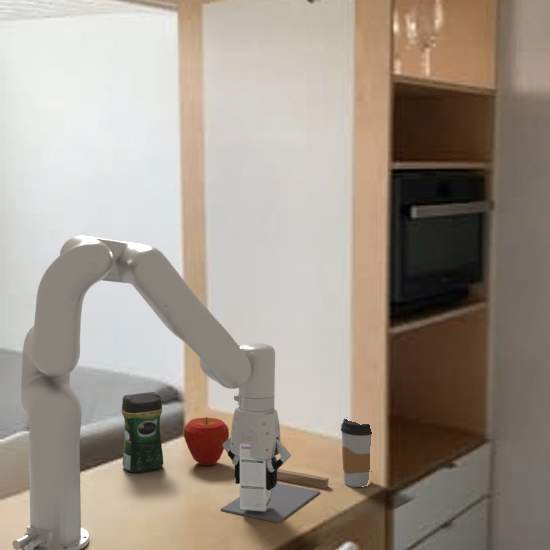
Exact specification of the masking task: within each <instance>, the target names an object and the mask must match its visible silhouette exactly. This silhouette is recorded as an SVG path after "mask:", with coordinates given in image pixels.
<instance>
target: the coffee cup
mask: <svg viewBox="0 0 550 550" xmlns="http://www.w3.org/2000/svg"><path fill="white" fill-rule="evenodd" d="M340 425H341V428H340V432H341V442H342V443H341V445H342V447H341V453H342V470H343V482H344V484H345V486H347V487H349V488H350V487H351V488H355V487H362V486H365V485H367V483H368V480H369V472H370V471H369V470H370V446H371V436H372V435H371V434H372V432H371V429H370V425H369V424H362V425H360V424H358V423H356V422H352V421H348V420H347V419H345V418H343V421H342V423H341V424H340Z"/></svg>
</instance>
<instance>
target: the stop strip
mask: <svg viewBox="0 0 550 550" xmlns="http://www.w3.org/2000/svg"><path fill="white" fill-rule="evenodd" d="M329 479H330V478H329V477H323V476H318V475H314V474H308V473H302V472H297V471H292V470H286V469H281V468H278V469H277V481H278V480H279V481H283V482H289V483H294V484H298V485H299V484H300V485H303V484H304V485H303V486H309V487H315V488H319V489H327V488H328V487H329Z"/></svg>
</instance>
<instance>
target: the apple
mask: <svg viewBox="0 0 550 550" xmlns="http://www.w3.org/2000/svg"><path fill="white" fill-rule="evenodd" d="M183 438H184V440H185V441H184V442H185V444H186V445H187V449H188V450H189V452H190V454H191V457H192V458H193V460H194V461H195V462H197V463H198V464H199V465H201V466H213V465H215V464H216V463H218V461H219V460H220V459H221V457H222V454H223V452H224V450H225V449H224V447H223V443H224V442H225V441H227V440H228V439H229V438H230V431H229V426H228V425H227V424H226V423H225V422H224V421H223V419H222V420H221V419H219V418H214V417H208V416H205V417H197V418H196V417H195V418H193V419H190V420H189V421H188V422H187V423H186V424H185V425H184V426H183Z"/></svg>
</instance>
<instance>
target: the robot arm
mask: <svg viewBox="0 0 550 550" xmlns="http://www.w3.org/2000/svg"><path fill="white" fill-rule="evenodd" d="M101 281H103V282H112V283H124V284H130V285H132V286H133V288H134V289H135V290H136V291H137V293H138V294H139V295H140V297H142V299H143V300H144V301H145V302H146V303H147V305H148V306H149V307H150V308H151V310H152V311H153V312H154V313H155V314H156V316H157V317H158V318H159V320H160V321H161V323H162V324H163V325H164V326H165V327H166V328H167V329H168V330H169V331H170V332H171V333H172V334H173V335H174V336H175V337H177V338H178V339H180V340H181V341H182V342H184V344H186V345H187V346H188V347H189V348H191V350H192V351H193V352H194V353H195V354H196V355H197V356H198V357H199V366H200V369H201V371H202V373H203V374H204V375H205V376H206V377H208V378H209V379H211V380H212V381H214V382H215V383H216V384H219V385H220V386H222V387H223V388H226V389H231V390H234V389H235V390H237V389H238V394H234V397H233V400H234V401H235V402H237V407H235V408H234V412H233V417H232V421H231V422H232V423H231V428H230V429H231V430H230V436H229V438H228V440H227V441H225V442H224V443H223V447H224V450H225V451H226V453H227V456H228V457H229V459H230V460H231V462H232V465H233V466H234V478H235V484H236V485H240V444H241V443H249V445H251V446H250V448H251V447H252V448H251V449H250V457H251V458H254V459H259V460H266V464H267V467H268V469H269V471H267V472H266V489H267V490H271V489H272V488H274V487H275V486H276V484H277V483H278V479H277V469H280V467H282V466H283V465H284V464H285V463H286V462H287V461H288V460H289V459H290V457H291V456H292V455H291V453H290V451H289V450H288V449H287V448H286V447H285V446H284V444H283V443H282V442H281V427H280V420H279V419H280V418H279V415H278V410H277V409H275V399H276V398H275V397H276V396H275V395H276V393H275V387H276V386H275V385H276V382H275V380H276V351H275V348H274V347H273V346H272V345H270V344H267V343H258V342H257V343H247V344H244V345H239V344H238V342H237V341H236V340H235V339H234V337H233V336H232V335H231V334H230V333H229V332H228V330H227V329H226V328H225V327H224V326H223V325H222V324H221V323H220V322H219V320H218V319H217V318H216V317H215V316H214V315H213V314H212V313H211V311H210V310H209V309H208V308H207V306H206V305H205V304H204V303H202V301H201V300H200V299H199V298H198V296H197V295H196V294H195V292H194V291H193V290H192V288H191V287H189V285H188V284H187V282H186V281H185V280H184V279H183V277H182V276H181V275H180V274H179V272H178V271H177V269H176V268H175V267H174V266H173V264H172V263H171V262H170V261H169V259H168V258H167V256H166V255H164V253H162V251H161V250H159V249H158V248H156V247H155V246H150V245H147V244H144V243H137V242H129V241H128V242H127V241H120V240H115V239H114V240H113V239H107V238H100V237H95V236H89V235H87V236H86V235H78V236H77V235H76V236H73V237H71V238H69V239H68V240H66V241H65V242H64V243H63V245H62V246H61V248H60V252H59V256H58V257H56V258H55V259H54V261H52V262H51V264H50V265H49V266H48V267H47V268H46V269H45V272H44V273H43V275H42V277H41V279H40V282H39V285H38V287H37V288H38V289H37V294H36V299H35V313H34V323H33V324H34V325H33V326H31V328H30V329H29V330H28V331H27V333H26V335H25V337H24V341H23V346H22V360H21V362H22V363H21V385H20V387H21V388H20V390H21V391H20V397H21V399H20V400H21V404H22V407H23V409H24V412H25V413H26V416H27V418H28V470H29V471H28V473H29V474H28V477H29V478H28V479H29V519H30V520H29V521H30V522H29V523H30V524H29V525H27V526H26V532H25V533H24V535H22V536H21V537H19V538H16V539H14V540H13V541H12V548H13V549H14V550H21V549H23V550H81V549H83V548H85V547H86V546H87V545H88V544H89V543H90V542H89V541H90V533H89V532H88V530H86V529H84V528H83V527H82V513H81V512H82V510H81V502H82V501H81V499H82V498H81V459H80V458H81V455H80V454H81V453H80V452H81V448H80V446H81V443H80V442H81V441H80V439H81V429H82V407H81V403H80V400H79V398H78V395H77V394H76V393H75V391H73V389H72V388H71V387H70V384H71V383H70V380H71V373H72V372H73V371H74V370H75V369H76V368H77V365H78V363H79V360H80V355H81V326H82V325H81V323H82V322H81V321H82V311H83V303H84V299H85V297H86V294H87V292H88V291H89V290H90V289H91V287H93V286H94V285H95V284H97V283H99V282H101ZM278 455H280V457H279V458H278V457H277V456H278Z"/></svg>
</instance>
